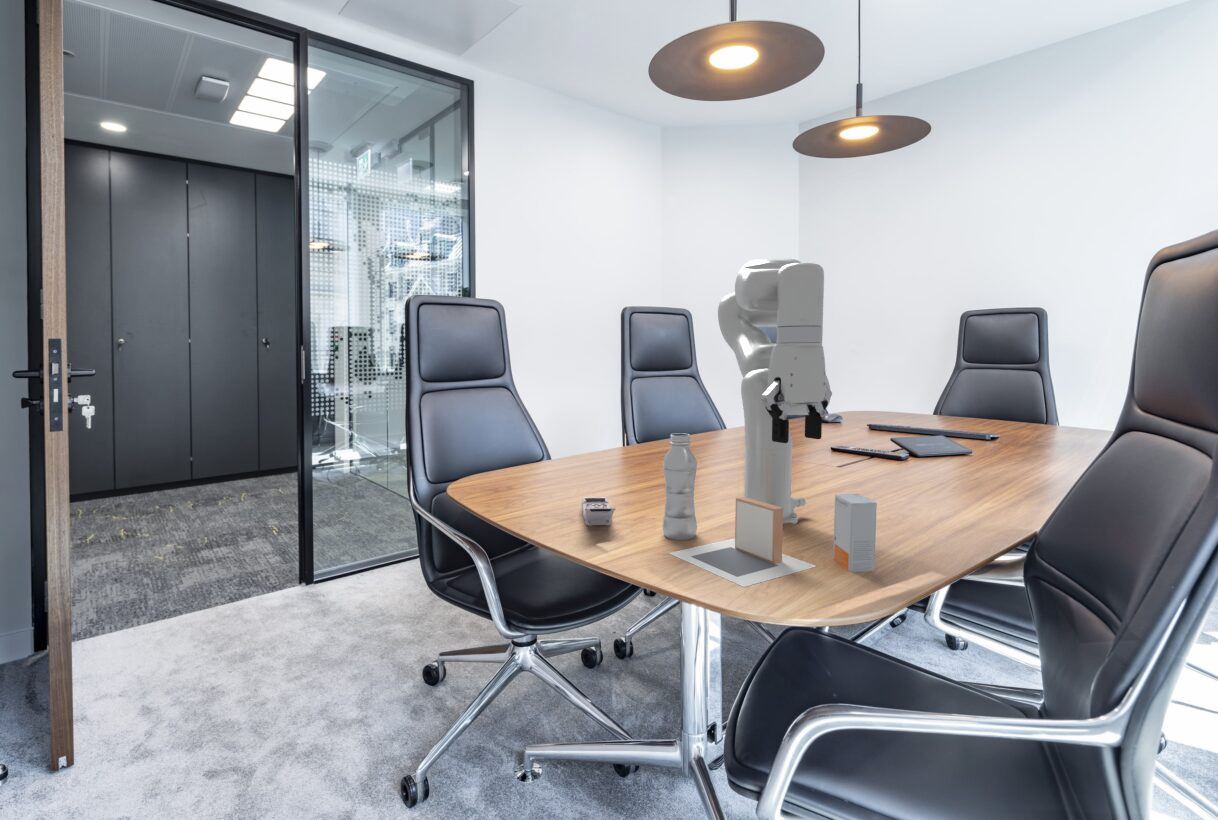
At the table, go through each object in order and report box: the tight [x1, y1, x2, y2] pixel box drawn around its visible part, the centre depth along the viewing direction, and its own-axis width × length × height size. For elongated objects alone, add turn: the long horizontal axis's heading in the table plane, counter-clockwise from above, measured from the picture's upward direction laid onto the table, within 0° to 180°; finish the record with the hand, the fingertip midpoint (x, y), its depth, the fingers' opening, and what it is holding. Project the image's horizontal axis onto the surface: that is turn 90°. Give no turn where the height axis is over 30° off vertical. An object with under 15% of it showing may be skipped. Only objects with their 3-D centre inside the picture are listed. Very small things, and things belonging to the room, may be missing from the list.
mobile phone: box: [581, 496, 617, 526], centre depth 130 cm, size 6×6×25 cm
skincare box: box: [832, 493, 878, 573], centre depth 98 cm, size 6×4×12 cm
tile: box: [734, 496, 784, 564], centre depth 103 cm, size 2×9×9 cm, turn 32°
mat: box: [668, 537, 818, 588], centre depth 102 cm, size 16×18×1 cm
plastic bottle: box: [661, 432, 698, 541], centre depth 114 cm, size 6×7×20 cm
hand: (796, 439), depth 107 cm, fingers open, 7 cm apart
